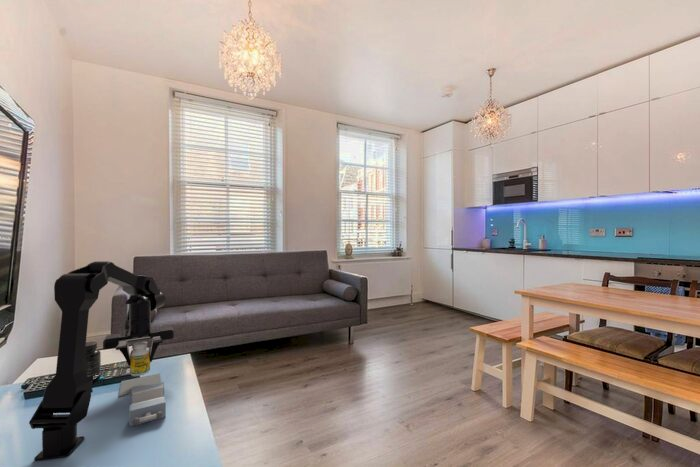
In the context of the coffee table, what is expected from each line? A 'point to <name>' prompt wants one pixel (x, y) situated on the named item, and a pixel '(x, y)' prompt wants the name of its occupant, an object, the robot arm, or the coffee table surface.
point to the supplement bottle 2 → (140, 359)
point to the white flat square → (138, 383)
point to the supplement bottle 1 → (92, 359)
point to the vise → (147, 403)
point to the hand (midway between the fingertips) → (140, 363)
